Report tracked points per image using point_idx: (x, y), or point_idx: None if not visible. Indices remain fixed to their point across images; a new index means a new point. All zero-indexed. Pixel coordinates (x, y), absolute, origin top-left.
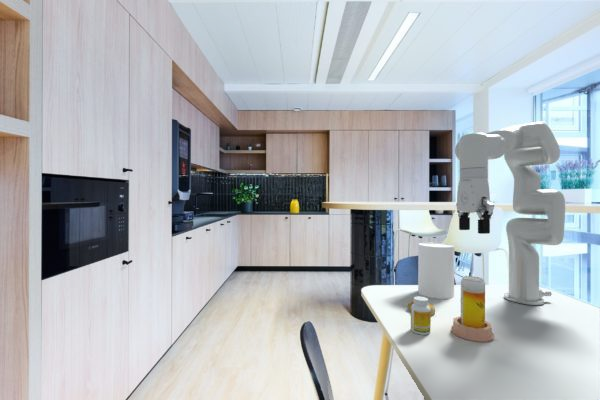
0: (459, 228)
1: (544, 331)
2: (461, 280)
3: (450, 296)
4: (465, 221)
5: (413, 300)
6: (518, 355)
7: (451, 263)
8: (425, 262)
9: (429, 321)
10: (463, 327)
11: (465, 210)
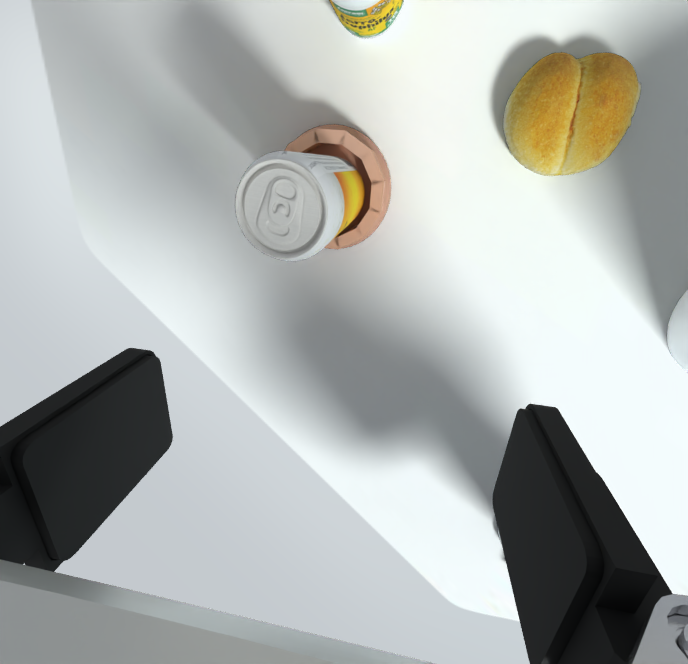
0: (550, 411)
1: (335, 392)
2: (303, 158)
3: (671, 343)
4: (533, 556)
5: (616, 77)
6: (212, 224)
7: None
8: None
9: (332, 6)
10: (298, 138)
11: (81, 634)
